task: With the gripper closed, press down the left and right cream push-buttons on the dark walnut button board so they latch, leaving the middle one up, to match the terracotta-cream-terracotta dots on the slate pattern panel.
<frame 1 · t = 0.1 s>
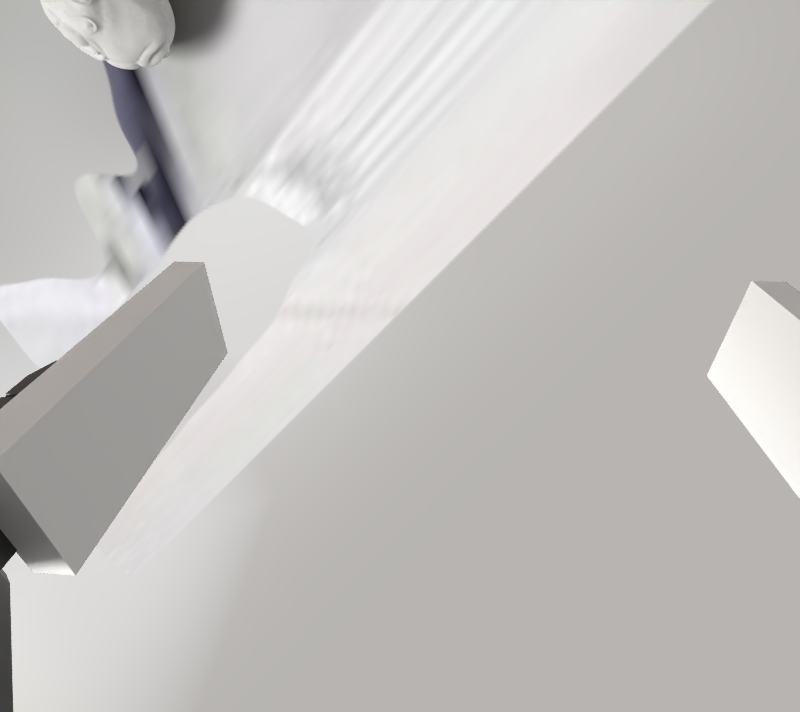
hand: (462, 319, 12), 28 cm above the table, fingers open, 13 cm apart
white rounded lump: (149, 15, 32), on the table
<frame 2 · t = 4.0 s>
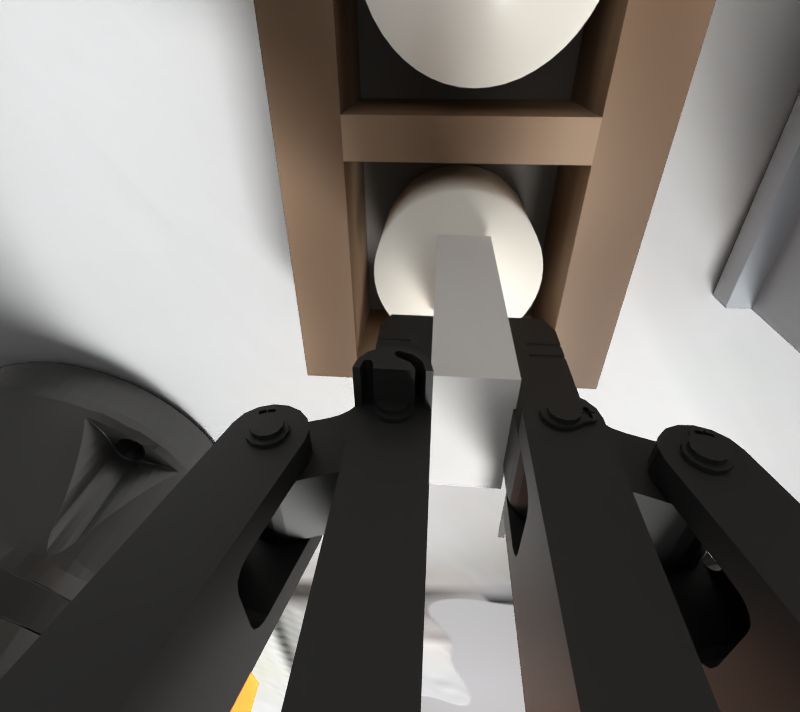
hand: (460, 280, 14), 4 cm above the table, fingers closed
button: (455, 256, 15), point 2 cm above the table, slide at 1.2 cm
orange juice: (201, 661, 42), on the table
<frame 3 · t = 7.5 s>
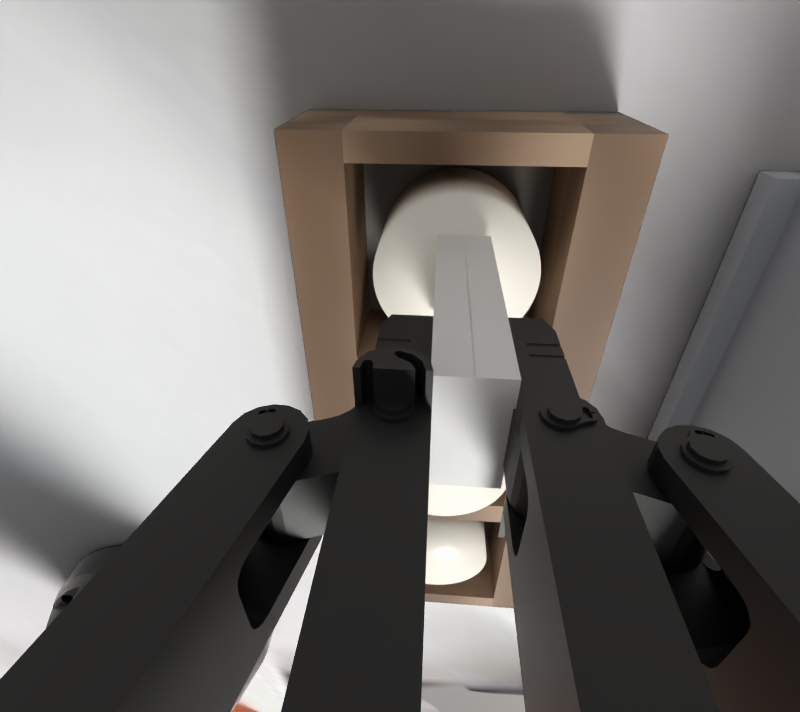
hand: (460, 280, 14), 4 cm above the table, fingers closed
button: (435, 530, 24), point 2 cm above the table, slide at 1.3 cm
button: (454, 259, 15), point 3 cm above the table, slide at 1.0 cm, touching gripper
button board: (442, 387, 22), on the table
middle button: (442, 445, 19), point 4 cm above the table, slide at 0.0 cm
pattern panel: (698, 399, 21), on the table
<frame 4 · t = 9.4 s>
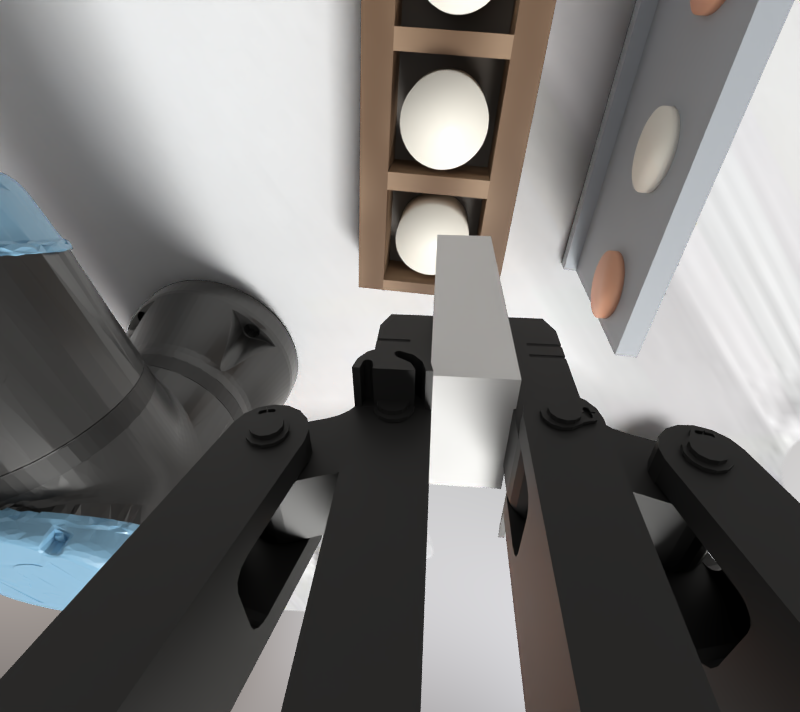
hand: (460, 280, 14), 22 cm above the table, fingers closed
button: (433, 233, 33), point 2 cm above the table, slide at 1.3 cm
button board: (446, 109, 30), on the table
middle button: (444, 119, 27), point 4 cm above the table, slide at 0.0 cm
pattern panel: (625, 124, 30), on the table
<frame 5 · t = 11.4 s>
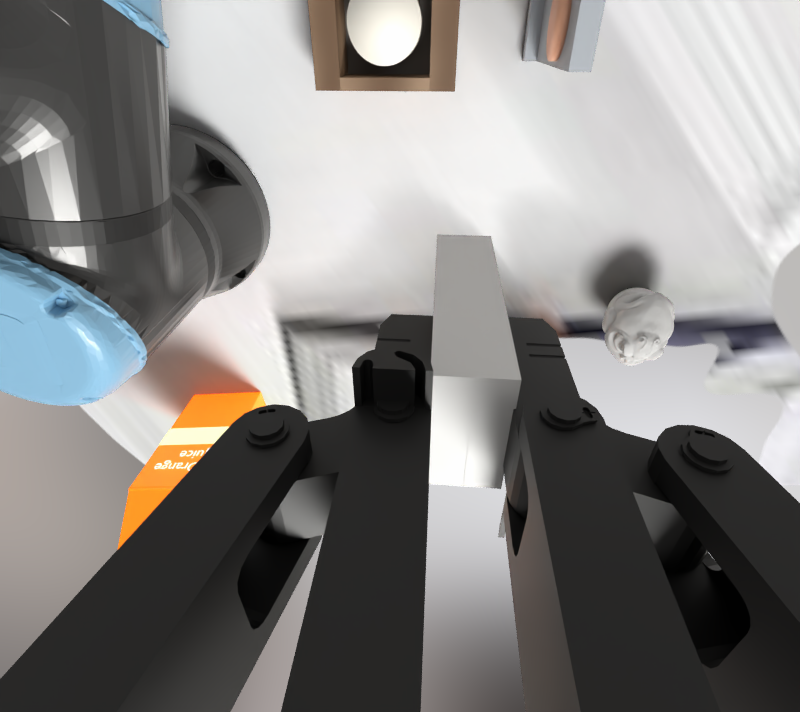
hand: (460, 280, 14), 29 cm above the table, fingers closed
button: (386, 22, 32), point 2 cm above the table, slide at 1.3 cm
white rounded lump: (625, 303, 46), on the table
orange juice: (237, 415, 59), on the table
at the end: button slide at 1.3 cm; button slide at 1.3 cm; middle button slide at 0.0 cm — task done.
